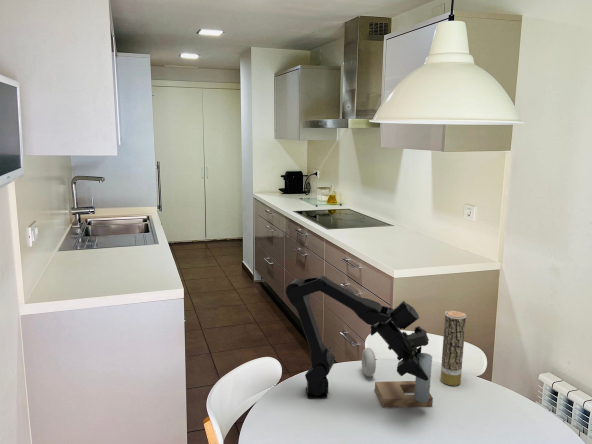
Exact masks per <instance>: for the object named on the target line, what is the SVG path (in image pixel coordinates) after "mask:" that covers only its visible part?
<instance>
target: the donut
mask: <svg viewBox="0 0 592 444" xmlns="http://www.w3.org/2000/svg"><path fill="white" fill-rule="evenodd" d="M375 354H376V353H375V352H374V350H373V349H372V348H371V347H366V348H364V349H363V351H362V355H361V368H362V372H363V374H364V375H365V376H366V377H373V376H374V375H375V373H376V368H377V367H376V366H377V362H376V360H377V359H376V355H375Z"/></svg>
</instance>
